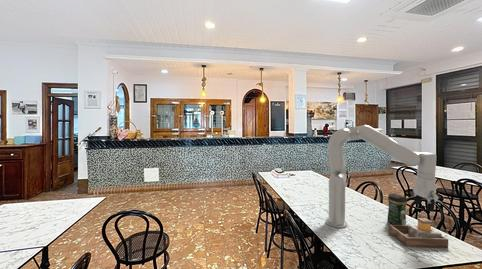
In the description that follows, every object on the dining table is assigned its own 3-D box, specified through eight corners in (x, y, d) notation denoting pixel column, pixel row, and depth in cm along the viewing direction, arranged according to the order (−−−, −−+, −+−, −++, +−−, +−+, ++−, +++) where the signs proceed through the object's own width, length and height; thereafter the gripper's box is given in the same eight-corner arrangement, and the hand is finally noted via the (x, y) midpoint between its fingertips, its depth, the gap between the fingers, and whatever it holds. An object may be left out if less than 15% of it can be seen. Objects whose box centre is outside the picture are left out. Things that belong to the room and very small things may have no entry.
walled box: (388, 232, 134) (388, 222, 133) (424, 233, 132) (425, 223, 132) (406, 246, 118) (407, 235, 117) (448, 248, 116) (448, 236, 116)
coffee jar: (384, 221, 149) (385, 192, 149) (394, 220, 152) (395, 191, 151) (398, 227, 140) (399, 197, 139) (408, 226, 142) (409, 196, 142)
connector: (416, 235, 127) (417, 218, 127) (425, 236, 127) (425, 218, 127) (422, 239, 123) (423, 221, 122) (431, 240, 123) (432, 221, 122)
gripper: (407, 172, 132) (405, 201, 133) (430, 179, 115) (428, 213, 116) (421, 172, 132) (419, 202, 133) (446, 180, 115) (444, 213, 116)
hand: (423, 207), depth 124 cm, fingers open, 9 cm apart
